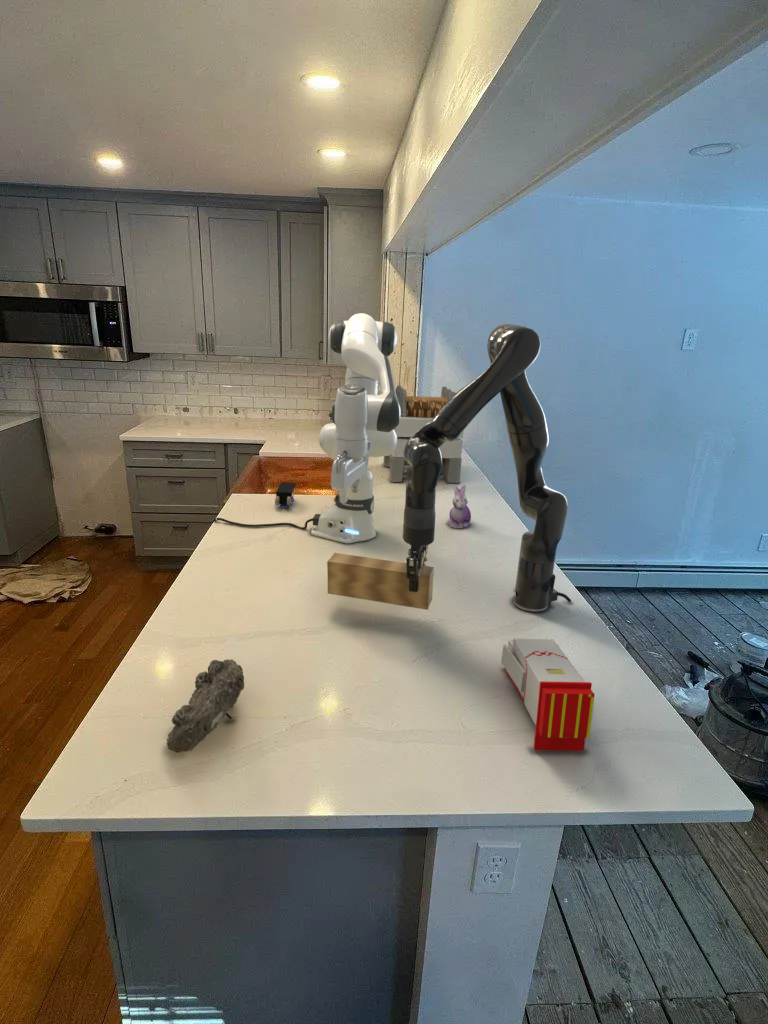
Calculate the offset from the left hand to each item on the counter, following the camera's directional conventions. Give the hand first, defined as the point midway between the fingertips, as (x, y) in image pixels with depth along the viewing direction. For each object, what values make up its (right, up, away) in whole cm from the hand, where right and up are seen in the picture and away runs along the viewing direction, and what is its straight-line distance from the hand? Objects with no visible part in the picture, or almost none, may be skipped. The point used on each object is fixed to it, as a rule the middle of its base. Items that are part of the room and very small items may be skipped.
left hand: (349, 497), depth 155 cm
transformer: (+27, +15, +120) cm, 123 cm away
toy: (+41, -43, -39) cm, 71 cm away
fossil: (-23, -43, -47) cm, 68 cm away
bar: (+8, -26, -11) cm, 29 cm away
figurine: (+37, -9, +56) cm, 68 cm away
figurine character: (-29, -1, +68) cm, 74 cm away
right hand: (+17, -22, -15) cm, 32 cm away
